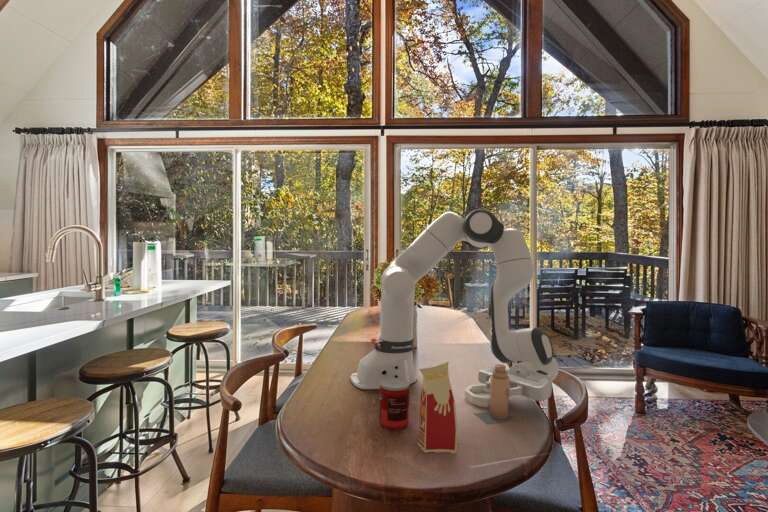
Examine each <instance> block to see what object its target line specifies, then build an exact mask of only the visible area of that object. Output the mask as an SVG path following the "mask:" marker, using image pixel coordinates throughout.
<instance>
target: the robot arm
mask: <svg viewBox="0 0 768 512" xmlns="http://www.w3.org/2000/svg"><path fill="white" fill-rule="evenodd" d="M460 242H461V243H462V244H463V243H464V244H465V245H467V246H470V247H472V248H474V249H479V250H483V249H488V248H489V249H490V250H491V251H492V253H493V256H494V260H495V265H496V276H495V281H494V283H493V284H492V286H491V290H490V311H491V313H490V315H491V316H490V317H491V340H490V350H491V353H492V355H493V356H494V358H496V359H497V360H498V361H499V362H501V363H502V364H508V363H513V362H518V363H515V364H513V365H512V366H510V367H509V369H508V370H507V369H505V370H506V371H507V372H508V377H509V388H507V389H506V395H508V396H509V397H514V396H521V397H524V398H527V399H530V400H533V401H537V402H544V401H546V400H547V399H549V398H551V397H552V392H553V391H552V390H553V381H554V380H555V379H556V378H557V376H558V374H559V369H560V368H559V364H558V362H557V359H556V358H555V357H554V350H553V344H552V341H551V339H550V337H549V335H548V334H547V333H546V332H545V331H544V330H543V329H542V328H540V327H538V326H535V327H526V328H521V329H512V330H510V328H509V327H510V326H509V303H510V301H511V299H512V298H513V297H514V296H516V294H518V293H519V292H521V291H522V290H524V289H525V288H526V287H527V286H528V285H529V284H530V283H531V281H532V279H533V277H534V265H533V261H532V257H531V253H530V252H531V251H530V250H529V247H528V246H529V245H528V244H527V241H526V238H525V236H524V234H523V232H522V231H521V230H519V229H518V228H512V227H510V228H505V225H504V224H503V223H502V222H501V221H500V220H499V219H498V217H497V216H495V214H494V213H492V211H490V210H488V209H484V208H478V209H474V210H472V211H471V212H469V213H468V214H467V216H466V217H462V216H460V215H459V214H458V213H456V212H454V211H446V212H444V213H442V214H440V216H438V217H437V218H436V219H434V220H433V221H432V222H431V223H430V224H428V226H426V228H425V229H424V230H423V231H422V232H421V233H420V234H419V235H418V236H417V237H416V238H415V240H413V241H412V242H411V243H410V244H409V246H408V247H407V248H406V249H404V250H403V251H402V252H401V253H400V254H399V255H398V256H397V257H396V258H395V259H394V260H393V261H392V262H391V263H390V264H389V265H388V266H387V267H386V268H385V269H384V270H383V272H382V274H381V277H380V280H381V281H380V285H381V287H380V290H381V291H380V292H381V293H380V326H379V327H380V328H379V329H380V330H379V331H380V333H379V334H380V335H379V337H378V339H376V338H375V337H372V338H371V339H370V343H371V344H372V345H373V346H374V349H372V350H371V351H370V352H369V353H368V354H366V355H365V356H364V357H362V358H361V359H360V360H359V362H358V365H357V371H356V372H353V373H351V375H350V382H351V384H353V385H354V386H355V387H356V388H359V389H360V390H380V382H381V381H382V380H383V379H387V378H400V379H404V380H406V381H408V382H409V386H410V385H412V384H414V383H415V382H416V381H417V380H418V378H417V375H416V371H415V365H414V351H415V342H414V341H415V339H414V337H413V332H414V330H413V329H414V310H415V308H414V307H415V296H416V295H415V293H416V283H418V282H419V281H420V280H421V279H422V278H423V277H424V276H425V275H427V274H428V273H429V272H430V271H432V270H433V269H434V268H435V267H436V266H437V264H439V262H441V260H443V259H444V258H445V256H447V254H448V253H450V251H451V250H452V249H453V248H454V247H455V246H456V245H457V244H458V243H460ZM494 369H495V366H491V367H486V368H485V367H484V368H481V369H479V370H478V375H477V377H478V378H477V379H478V383H479V384H486V388H487V389H490V377H491V375H492V373H493V370H494Z"/></svg>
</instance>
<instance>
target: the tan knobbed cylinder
mask: <svg viewBox="0 0 768 512" xmlns="http://www.w3.org/2000/svg"><path fill="white" fill-rule="evenodd" d="M494 367H495V369H494V370H493V373H492V375H491V377H490V407H489V416H490V417H491V418H493V419H496V420H506V419H508V416H509V404H510V403H509V402H510V400H509V399H510V396H508V395H506V389H507V388H509V377H508V372H507V371H506V370H507V369H506V367H507V366H506V365H505V364H494Z"/></svg>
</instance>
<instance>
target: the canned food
mask: <svg viewBox="0 0 768 512" xmlns="http://www.w3.org/2000/svg"><path fill="white" fill-rule="evenodd" d="M378 413H379V416H378V417H379V418H378V419H379V423H380V426H382V427H383V428H385V429H388V430H392V431H393V430H396V431H397V430H402V429H405V428H407V427H408V425H409V422H410V421H409V420H410V419H409V418H410V417H409V416H410V385H409V382H408V381H406V380H404V379H400V378H387V379H383V380H382V381H381V382H380V389H379V412H378Z"/></svg>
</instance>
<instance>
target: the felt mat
mask: <svg viewBox="0 0 768 512" xmlns="http://www.w3.org/2000/svg"><path fill="white" fill-rule="evenodd" d="M489 411H490V410H489ZM489 411H482V412H476V413H475V412H474V413H473V414H474V415H475V416H476V417H477V418H479V419H480V420H481V421H482V422H484V423H485V424H486V425H492V424H498V423H499V424H500V423H505V422H507V423H509V422H513V421H516V419H514V418H512V416H509V415H508V419H506V420H496V419H493V418H491V417H490V416H489Z"/></svg>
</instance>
